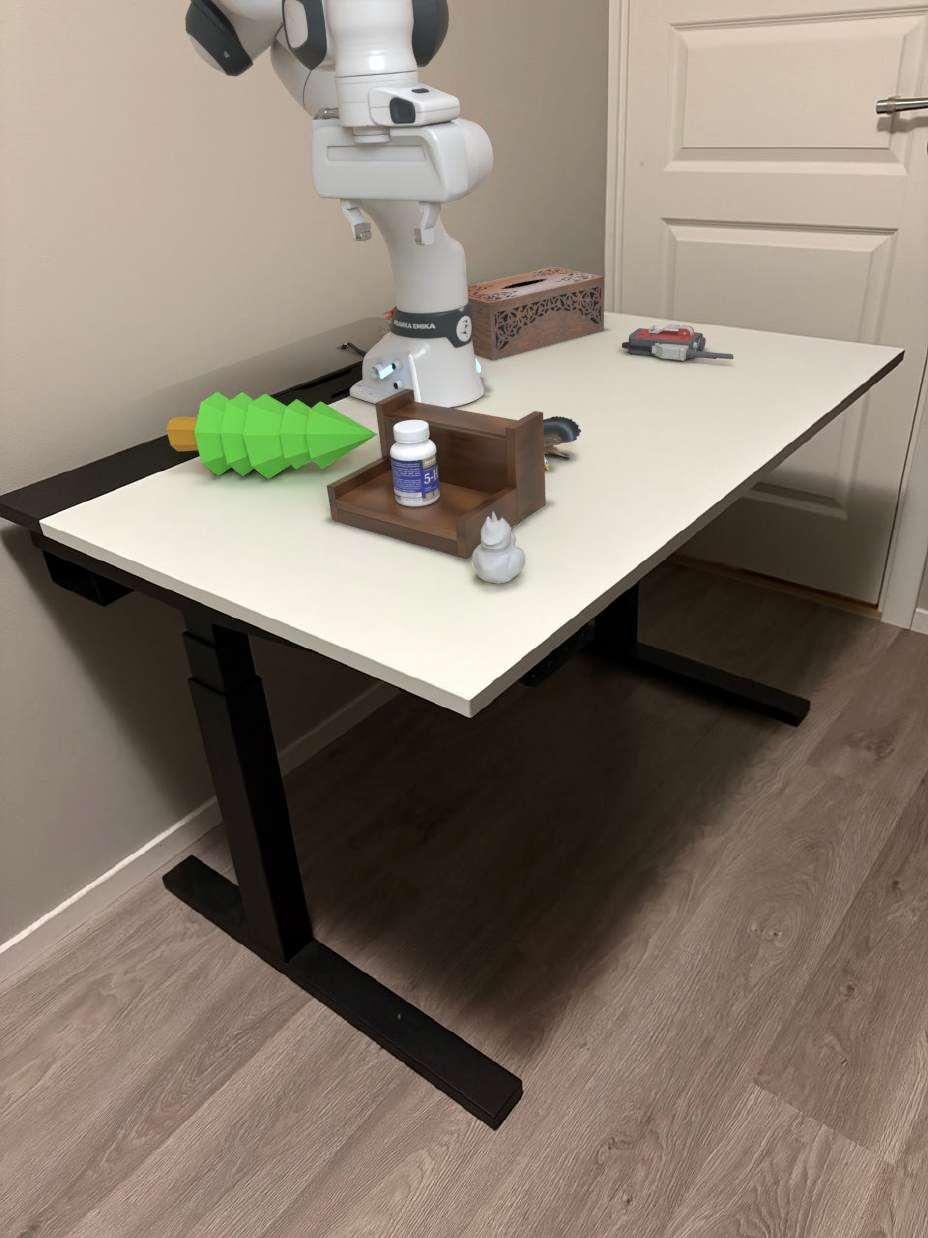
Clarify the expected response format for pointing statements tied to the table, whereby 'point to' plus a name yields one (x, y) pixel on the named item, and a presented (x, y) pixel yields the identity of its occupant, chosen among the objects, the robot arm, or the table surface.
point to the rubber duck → (497, 552)
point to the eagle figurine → (558, 434)
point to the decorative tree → (265, 434)
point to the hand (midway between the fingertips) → (393, 242)
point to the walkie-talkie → (670, 343)
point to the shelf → (449, 477)
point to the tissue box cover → (534, 310)
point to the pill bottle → (414, 464)
